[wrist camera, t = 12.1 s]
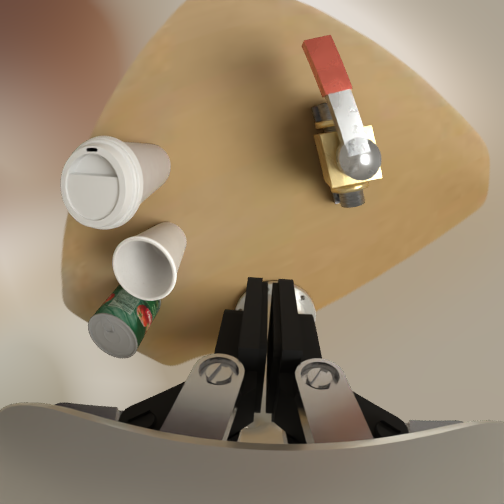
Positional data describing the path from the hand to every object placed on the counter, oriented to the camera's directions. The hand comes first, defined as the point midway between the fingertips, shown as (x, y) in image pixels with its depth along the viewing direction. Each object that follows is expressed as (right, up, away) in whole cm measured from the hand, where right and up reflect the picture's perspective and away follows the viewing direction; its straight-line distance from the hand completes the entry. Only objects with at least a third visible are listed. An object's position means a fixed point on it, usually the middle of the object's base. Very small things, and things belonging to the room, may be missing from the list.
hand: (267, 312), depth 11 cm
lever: (+8, +17, +15) cm, 24 cm away
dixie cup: (-13, +4, +31) cm, 34 cm away
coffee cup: (-15, +14, +27) cm, 34 cm away
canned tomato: (-19, -5, +35) cm, 40 cm away
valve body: (+11, +15, +25) cm, 31 cm away
